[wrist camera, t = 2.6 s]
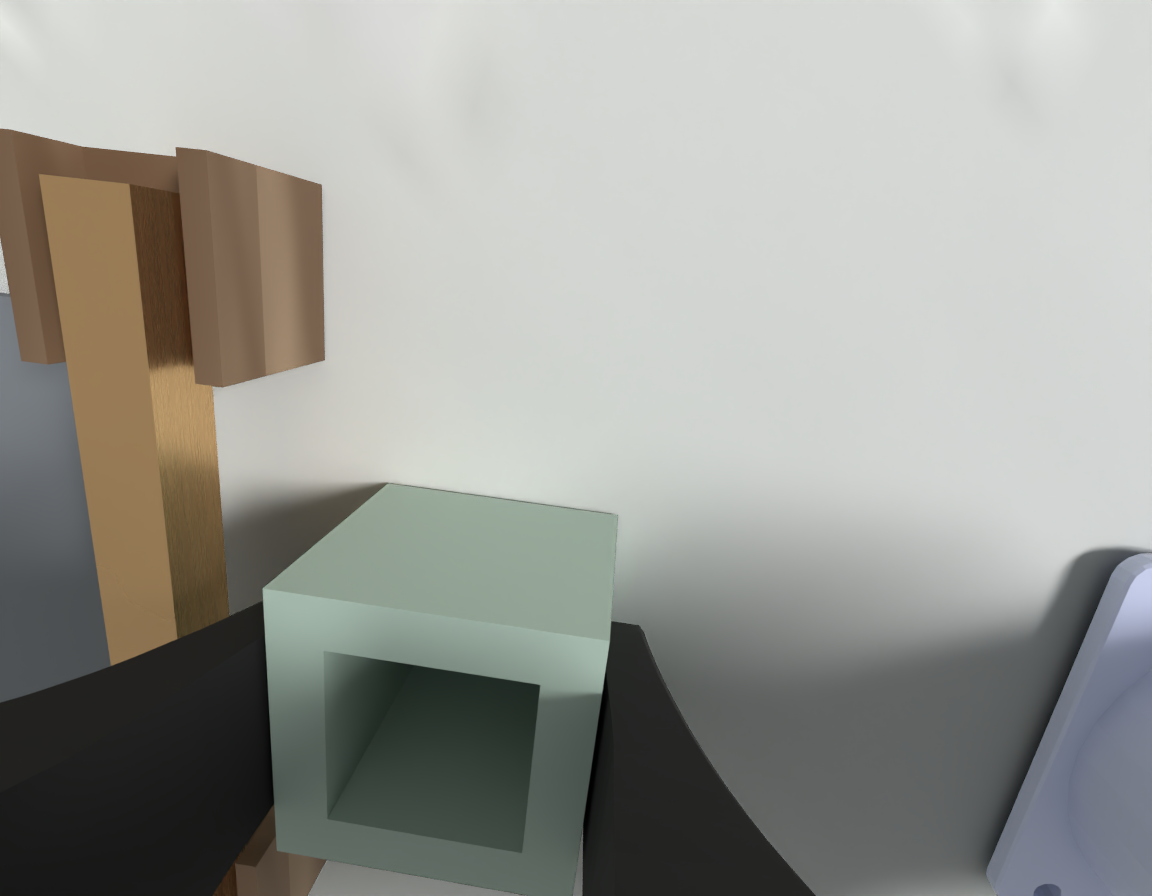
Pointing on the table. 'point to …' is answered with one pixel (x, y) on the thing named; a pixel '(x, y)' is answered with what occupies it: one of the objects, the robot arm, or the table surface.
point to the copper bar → (139, 414)
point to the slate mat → (43, 530)
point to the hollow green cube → (442, 688)
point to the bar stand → (191, 307)
